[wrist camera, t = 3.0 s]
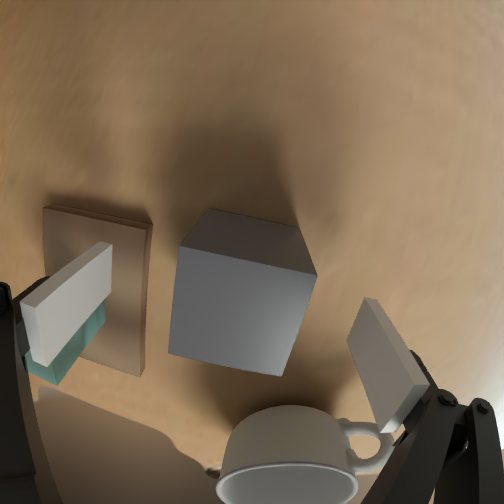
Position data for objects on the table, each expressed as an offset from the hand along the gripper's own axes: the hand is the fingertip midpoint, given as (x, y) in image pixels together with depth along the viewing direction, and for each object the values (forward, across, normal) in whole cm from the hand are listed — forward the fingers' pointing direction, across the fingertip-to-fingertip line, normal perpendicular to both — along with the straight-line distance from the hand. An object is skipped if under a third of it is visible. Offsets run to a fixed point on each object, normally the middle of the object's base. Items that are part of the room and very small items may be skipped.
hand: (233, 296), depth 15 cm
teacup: (+4, +8, -14) cm, 17 cm away
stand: (+4, -10, -5) cm, 12 cm away
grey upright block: (+4, 0, 0) cm, 4 cm away
